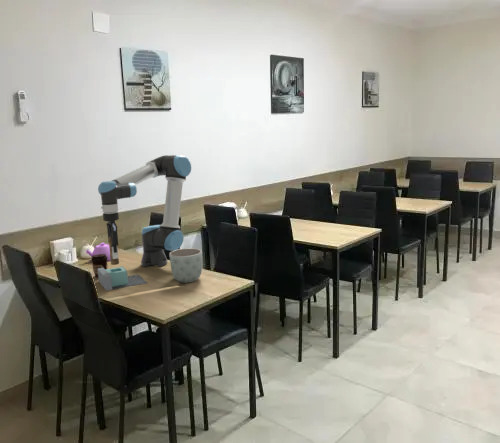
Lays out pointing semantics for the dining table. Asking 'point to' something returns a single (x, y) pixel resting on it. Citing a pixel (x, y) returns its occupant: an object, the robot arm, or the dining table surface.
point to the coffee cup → (99, 263)
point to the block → (118, 276)
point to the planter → (186, 264)
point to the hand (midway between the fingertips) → (114, 257)
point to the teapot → (100, 250)
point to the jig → (107, 283)
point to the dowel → (113, 261)
